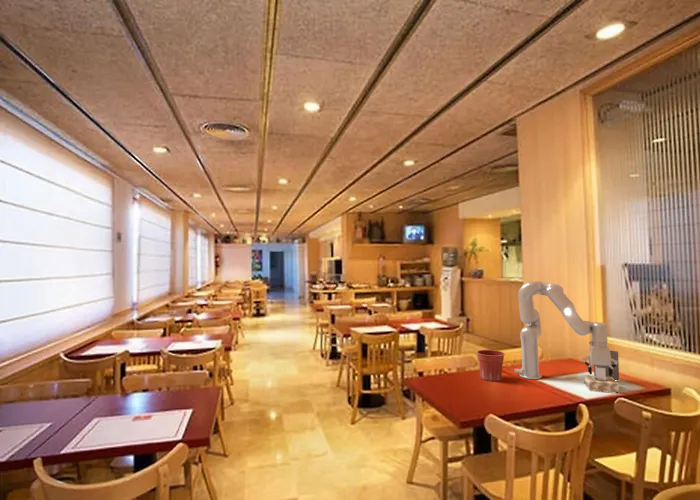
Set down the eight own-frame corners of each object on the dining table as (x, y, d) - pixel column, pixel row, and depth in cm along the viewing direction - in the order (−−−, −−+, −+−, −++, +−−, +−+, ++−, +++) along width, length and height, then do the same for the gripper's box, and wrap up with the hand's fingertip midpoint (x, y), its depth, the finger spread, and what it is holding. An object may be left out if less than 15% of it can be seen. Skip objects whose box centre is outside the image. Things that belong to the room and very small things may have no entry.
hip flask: (597, 382, 235) (596, 348, 236) (592, 380, 239) (591, 347, 240) (620, 380, 238) (619, 347, 239) (614, 379, 242) (613, 346, 243)
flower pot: (501, 375, 254) (500, 349, 254) (508, 382, 237) (508, 355, 238) (474, 374, 255) (474, 349, 256) (480, 382, 239) (480, 355, 239)
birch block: (589, 390, 221) (589, 381, 221) (584, 383, 234) (584, 374, 234) (619, 393, 216) (618, 384, 216) (612, 385, 229) (612, 377, 229)
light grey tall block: (597, 387, 224) (597, 367, 224) (596, 385, 228) (595, 365, 228) (606, 387, 223) (605, 368, 223) (604, 385, 226) (603, 366, 227)
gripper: (583, 344, 225) (584, 375, 225) (619, 347, 219) (619, 378, 219) (581, 342, 232) (581, 371, 232) (615, 344, 226) (616, 374, 226)
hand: (600, 374), depth 225 cm, fingers open, 9 cm apart
